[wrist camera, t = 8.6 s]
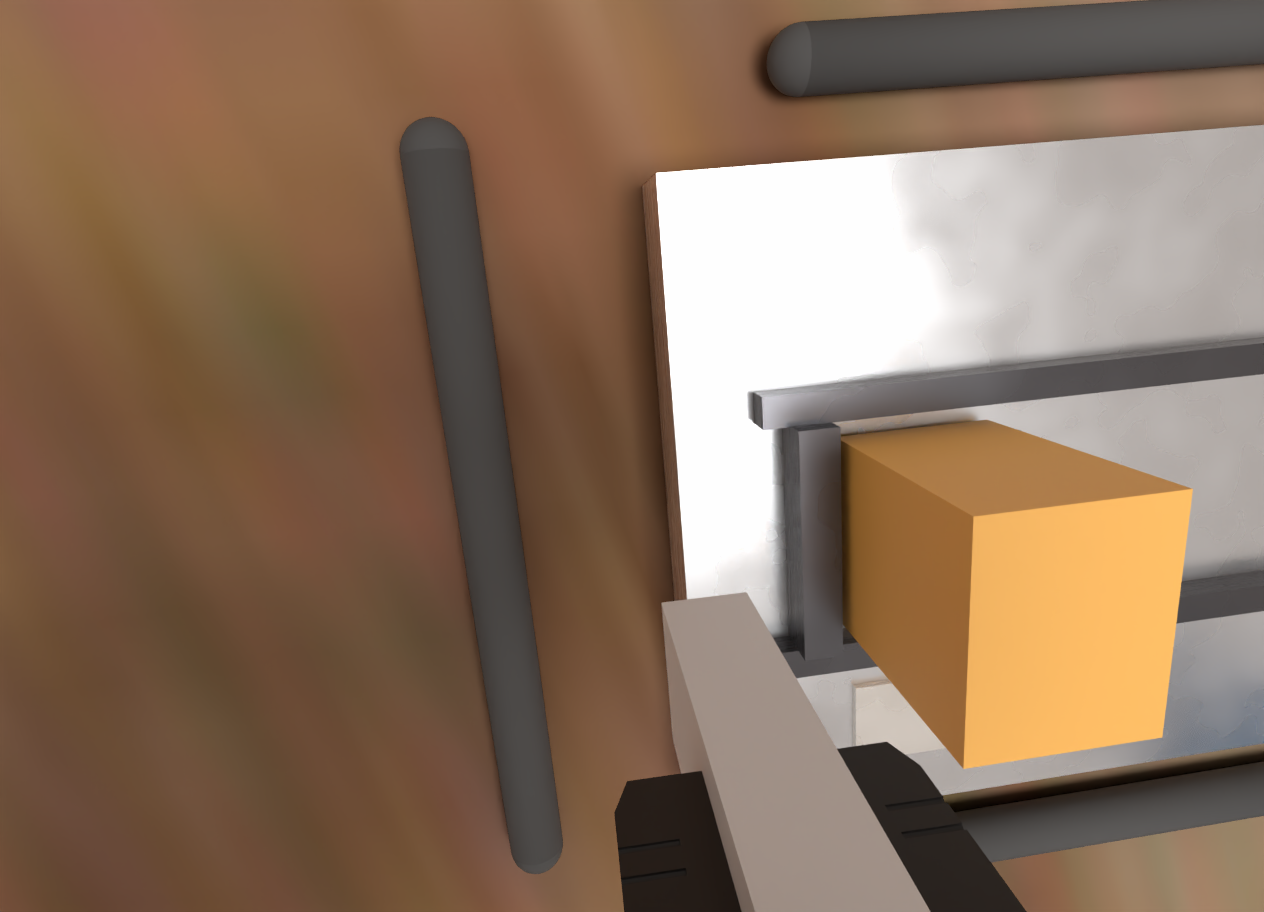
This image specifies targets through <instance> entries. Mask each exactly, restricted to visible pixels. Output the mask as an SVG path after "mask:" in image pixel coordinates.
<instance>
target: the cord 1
mask: <svg viewBox="0 0 1264 912" xmlns="http://www.w3.org/2000/svg"><path fill="white" fill-rule="evenodd" d="M1254 64H1264V0H1147V1H1131V2H1115V3H1098V4H1082V5H1066V6H1050V7H1034V8H1017V9H1001V10H985V11H969V12H953V13H936V14H920V15H904V16H888V17H872V18H855V19H839V20H823V21H807V22H798V23H794V24H792V25H789V26H788V27H786V28H785V29H783V30H782V31H781V32H780V33H779V34H778V35H777V36H776V37H775V39H774V40H773V42H772V44H771V46H770V48H769V51H768V55H767V72H768V75H769V78H770V81H771V82H772V84H773V85H774V87H775V88H776V89H778V90H779V91H780V92H781V93H783V94H785V95H788V96H792V97H804V96H818V95H832V94H846V93H860V92H874V91H889V90H903V89H917V88H931V87H945V86H959V85H973V84H987V83H1001V82H1015V81H1029V80H1043V79H1057V78H1071V77H1085V76H1099V75H1114V74H1128V73H1142V72H1156V71H1170V70H1184V69H1198V68H1212V67H1226V66H1240V65H1254Z"/></svg>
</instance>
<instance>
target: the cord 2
mask: <svg viewBox="0 0 1264 912" xmlns="http://www.w3.org/2000/svg"><path fill="white" fill-rule="evenodd" d="M955 814H956V815H957V816H958V818H959V819H960V821H961V822H962V826H963V828H964V830H968V832H969V833H970V834H971V836H972V837H973V839H974V840H975V841H976V843H977V844H978V845H979V847H980V848H981V850H982V851H983V852H984V854H985V855H986V857H987V858H988V859H989V861H990V862H996V861H1002V860H1008V859H1014V858H1020V857H1025V856H1031V855H1037V854H1043V853H1049V852H1055V851H1061V850H1066V849H1072V848H1078V847H1084V846H1090V845H1096V844H1101V843H1107V842H1113V841H1119V840H1125V839H1131V838H1136V837H1142V836H1148V835H1154V834H1160V833H1166V832H1171V831H1177V830H1183V829H1189V828H1195V827H1201V826H1206V825H1212V824H1218V823H1224V822H1230V821H1236V820H1242V819H1247V818H1253V817H1259V816H1264V762H1258V763H1252V764H1246V765H1240V766H1233V767H1227V768H1221V769H1215V770H1209V771H1203V772H1197V773H1191V774H1185V775H1179V776H1172V777H1166V778H1160V779H1154V780H1148V781H1142V782H1136V783H1130V784H1124V785H1118V786H1112V787H1105V788H1099V789H1093V790H1087V791H1081V792H1075V793H1069V794H1063V795H1057V796H1051V797H1044V798H1038V799H1032V800H1026V801H1020V802H1014V803H1008V804H1002V805H996V806H990V807H984V808H977V809H971V810H965V811H959V812H955Z"/></svg>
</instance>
